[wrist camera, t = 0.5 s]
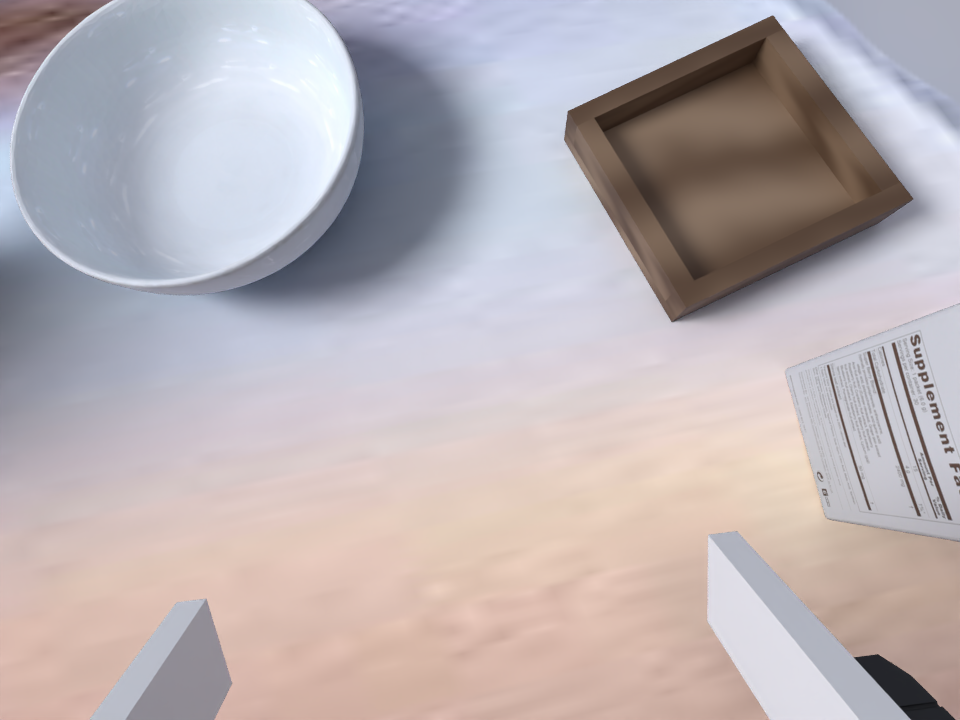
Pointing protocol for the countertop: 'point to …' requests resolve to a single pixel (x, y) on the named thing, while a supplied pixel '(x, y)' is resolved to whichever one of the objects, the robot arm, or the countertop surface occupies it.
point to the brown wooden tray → (729, 167)
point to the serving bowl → (188, 142)
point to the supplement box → (887, 427)
